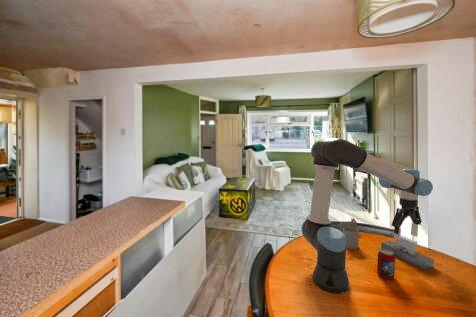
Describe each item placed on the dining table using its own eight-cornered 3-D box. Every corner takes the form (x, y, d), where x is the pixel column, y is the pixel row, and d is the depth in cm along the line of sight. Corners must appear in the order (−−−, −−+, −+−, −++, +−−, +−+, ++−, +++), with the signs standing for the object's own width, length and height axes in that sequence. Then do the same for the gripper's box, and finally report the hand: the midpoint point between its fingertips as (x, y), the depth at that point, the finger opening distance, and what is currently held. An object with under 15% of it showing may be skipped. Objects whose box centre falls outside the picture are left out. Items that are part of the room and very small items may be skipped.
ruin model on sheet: (353, 231, 151) (353, 217, 150) (356, 233, 148) (357, 219, 147) (338, 232, 149) (339, 219, 148) (341, 234, 146) (341, 220, 145)
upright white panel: (415, 261, 113) (417, 241, 112) (412, 262, 112) (413, 242, 111) (398, 253, 121) (399, 234, 121) (395, 254, 120) (396, 235, 120)
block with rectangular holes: (424, 270, 105) (425, 262, 105) (381, 249, 126) (381, 242, 126) (433, 267, 108) (434, 259, 108) (389, 246, 128) (389, 240, 128)
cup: (360, 249, 126) (360, 232, 125) (344, 248, 128) (345, 231, 127) (355, 242, 134) (356, 226, 133) (341, 241, 136) (341, 226, 135)
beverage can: (386, 282, 97) (387, 256, 96) (373, 273, 104) (374, 249, 103) (398, 279, 99) (399, 254, 98) (384, 270, 106) (385, 247, 105)
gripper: (400, 202, 106) (397, 244, 108) (431, 198, 115) (428, 236, 117) (384, 198, 113) (382, 237, 115) (416, 194, 122) (413, 231, 124)
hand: (405, 237), depth 116 cm, fingers open, 13 cm apart
